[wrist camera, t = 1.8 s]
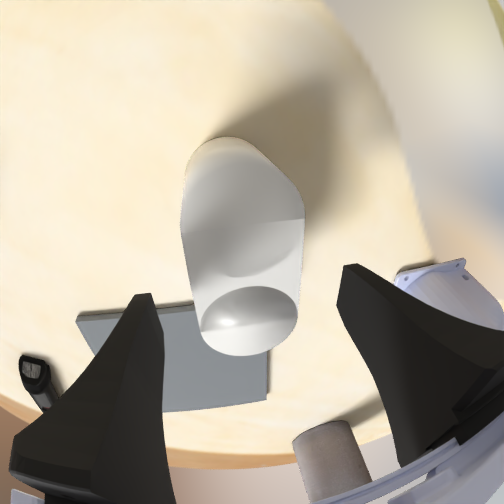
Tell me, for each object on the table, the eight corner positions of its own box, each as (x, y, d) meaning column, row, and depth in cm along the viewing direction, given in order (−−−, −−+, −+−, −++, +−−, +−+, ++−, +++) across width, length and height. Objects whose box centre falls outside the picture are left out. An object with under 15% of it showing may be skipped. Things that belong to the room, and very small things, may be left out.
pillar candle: (353, 428, 40) (382, 497, 28) (302, 450, 41) (325, 519, 29) (341, 413, 35) (377, 499, 22) (281, 439, 36) (306, 524, 23)
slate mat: (264, 294, 20) (266, 300, 19) (265, 395, 27) (266, 399, 27) (77, 316, 18) (75, 321, 17) (135, 408, 25) (135, 413, 25)
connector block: (266, 134, 14) (307, 159, 9) (268, 299, 20) (292, 366, 15) (180, 141, 14) (171, 170, 9) (204, 308, 20) (212, 379, 15)
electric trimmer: (58, 420, 27) (55, 439, 24) (18, 351, 19) (9, 377, 17) (82, 425, 28) (80, 445, 25) (49, 359, 20) (41, 386, 18)
